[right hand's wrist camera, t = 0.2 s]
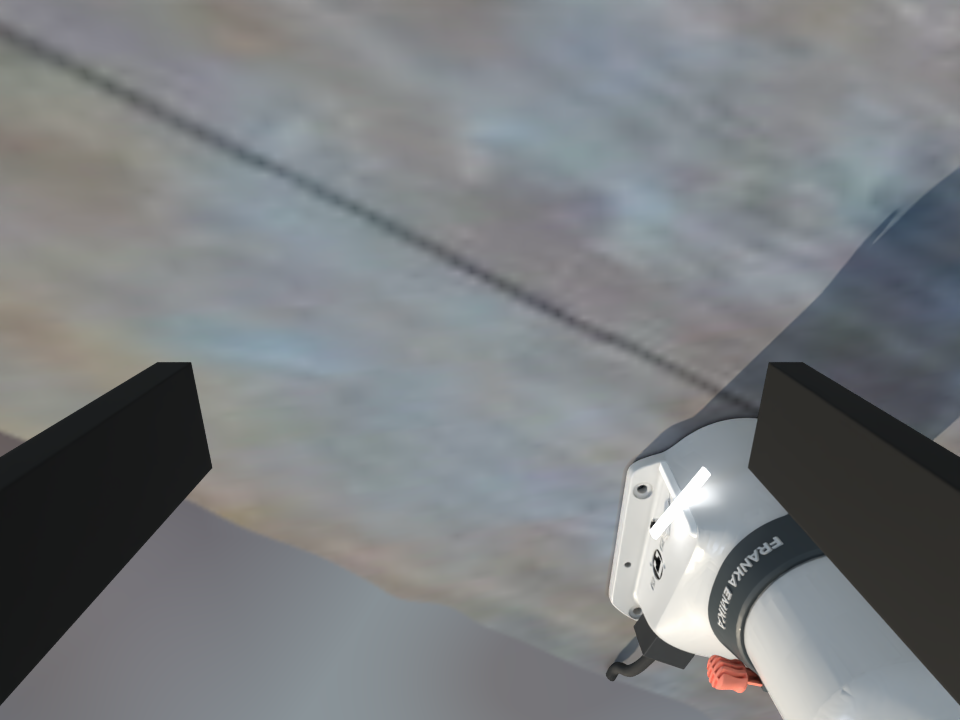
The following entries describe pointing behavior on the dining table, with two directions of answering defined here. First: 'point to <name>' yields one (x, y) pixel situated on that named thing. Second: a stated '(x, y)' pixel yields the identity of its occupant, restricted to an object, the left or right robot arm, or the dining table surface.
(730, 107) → the dining table surface
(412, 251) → the dining table surface
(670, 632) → the left robot arm
